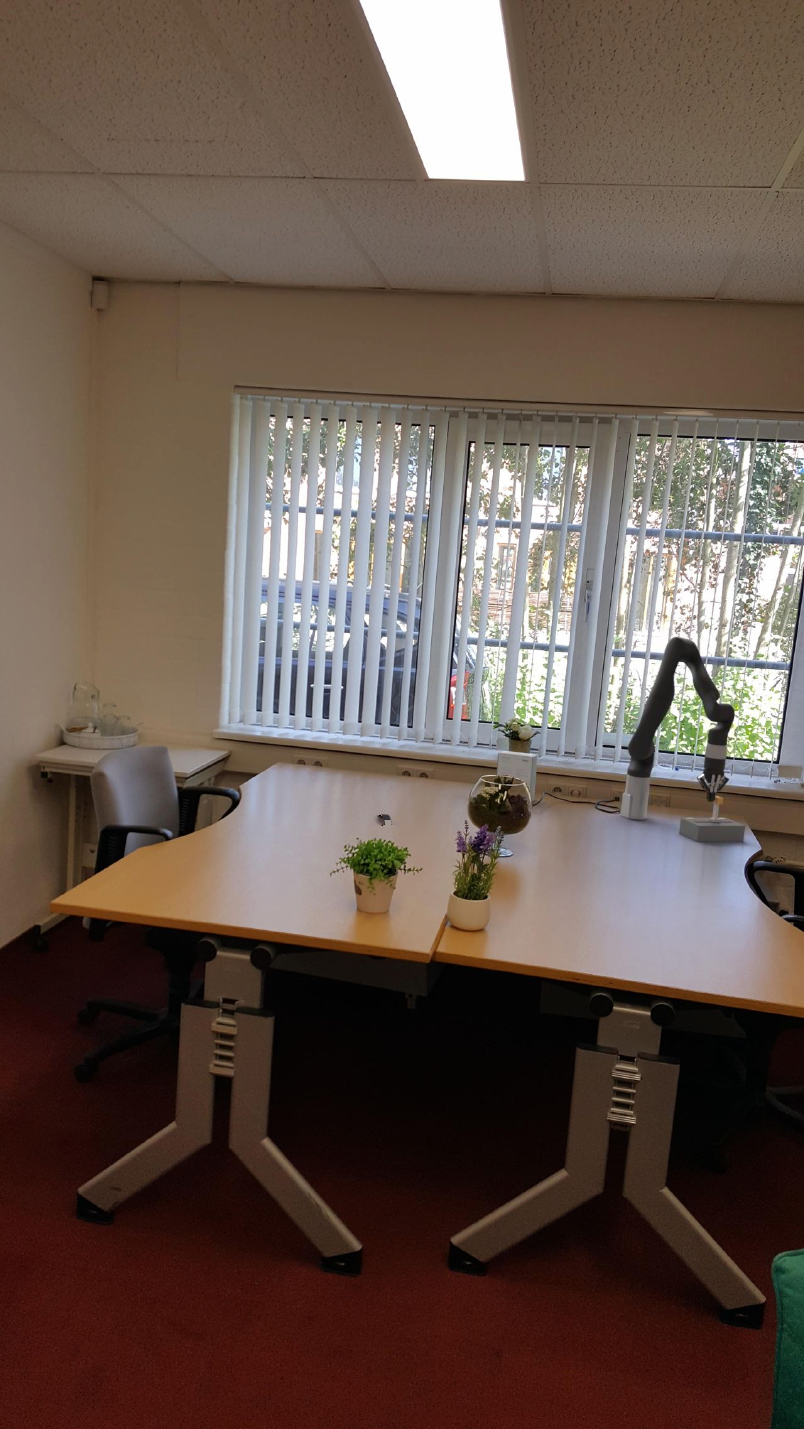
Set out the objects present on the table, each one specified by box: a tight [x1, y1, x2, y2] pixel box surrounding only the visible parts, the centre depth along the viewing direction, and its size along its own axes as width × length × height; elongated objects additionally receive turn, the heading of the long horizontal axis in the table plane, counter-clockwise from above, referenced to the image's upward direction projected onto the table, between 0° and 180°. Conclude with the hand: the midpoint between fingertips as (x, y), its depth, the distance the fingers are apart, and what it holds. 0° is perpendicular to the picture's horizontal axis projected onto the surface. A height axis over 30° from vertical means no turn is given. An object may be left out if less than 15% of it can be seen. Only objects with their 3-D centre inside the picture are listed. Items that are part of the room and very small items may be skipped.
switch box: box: [678, 817, 746, 843], centre depth 365 cm, size 20×12×6 cm, turn 106°
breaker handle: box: [708, 795, 724, 822], centre depth 365 cm, size 3×4×9 cm
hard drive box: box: [496, 750, 538, 802], centre depth 407 cm, size 16×8×20 cm, turn 65°
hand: (710, 801), depth 363 cm, fingers closed
